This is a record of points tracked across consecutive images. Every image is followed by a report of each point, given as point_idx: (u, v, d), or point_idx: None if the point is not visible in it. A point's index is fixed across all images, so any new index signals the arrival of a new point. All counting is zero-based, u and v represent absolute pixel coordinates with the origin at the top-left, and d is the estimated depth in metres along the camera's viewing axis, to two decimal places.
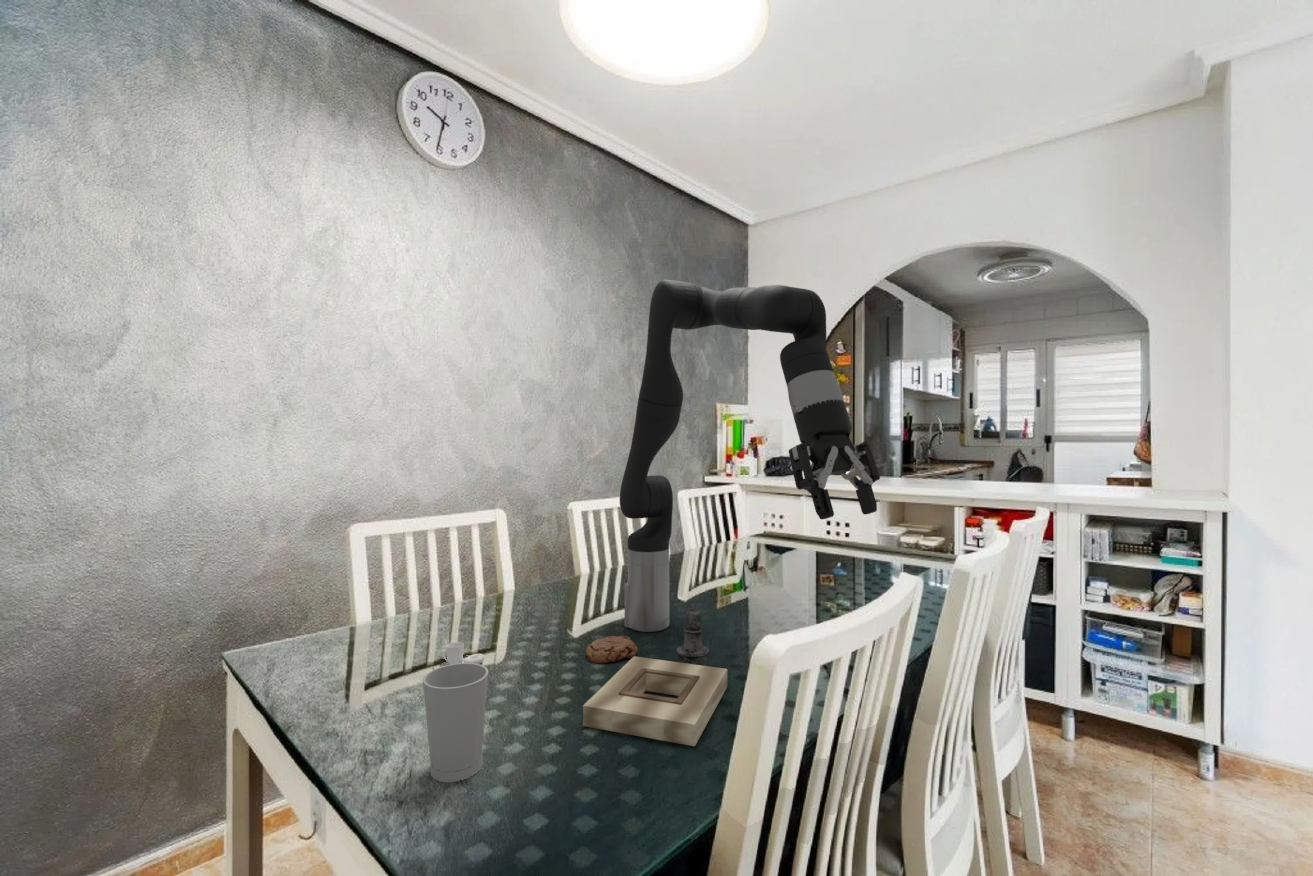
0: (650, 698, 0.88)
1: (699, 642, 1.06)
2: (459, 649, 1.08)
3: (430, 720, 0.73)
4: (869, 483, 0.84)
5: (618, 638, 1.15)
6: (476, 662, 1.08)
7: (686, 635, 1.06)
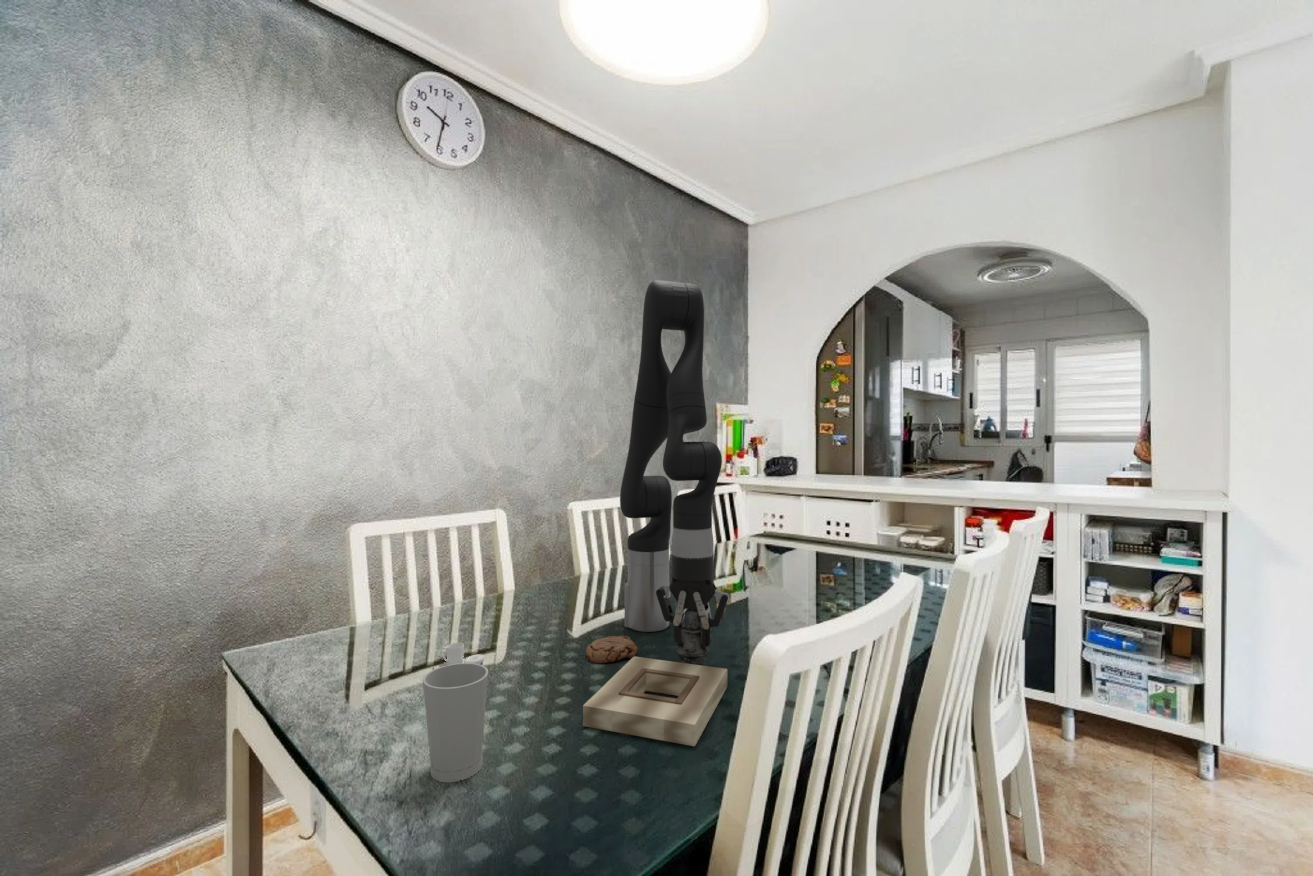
0: (650, 698, 0.88)
1: (699, 642, 1.06)
2: (459, 650, 1.08)
3: (430, 720, 0.73)
4: (704, 627, 1.05)
5: (618, 638, 1.15)
6: (476, 663, 1.08)
7: (686, 635, 1.06)
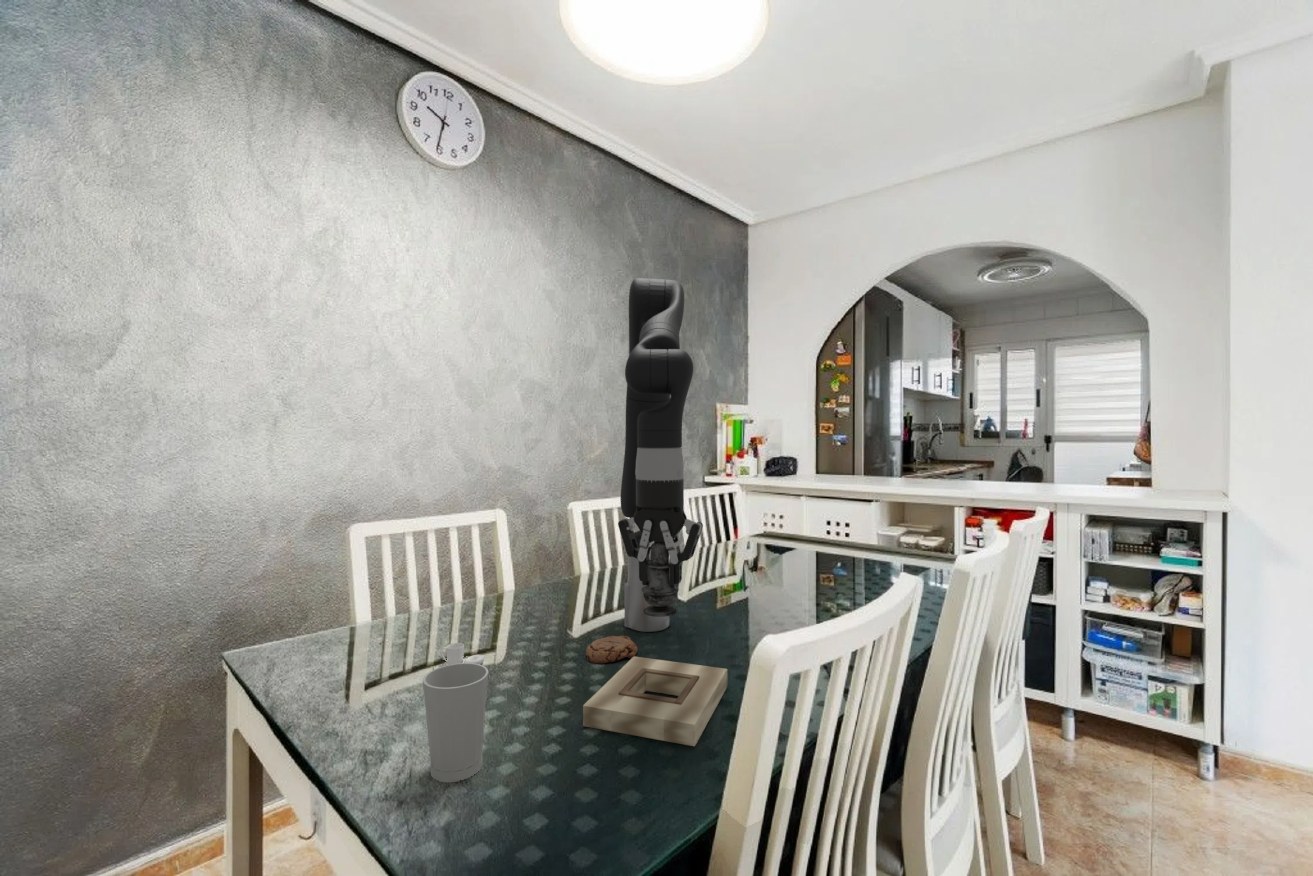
0: (650, 698, 0.88)
1: (666, 579, 0.92)
2: (459, 650, 1.08)
3: (430, 720, 0.73)
4: (673, 562, 0.91)
5: (618, 638, 1.15)
6: (476, 663, 1.08)
7: (652, 571, 0.92)
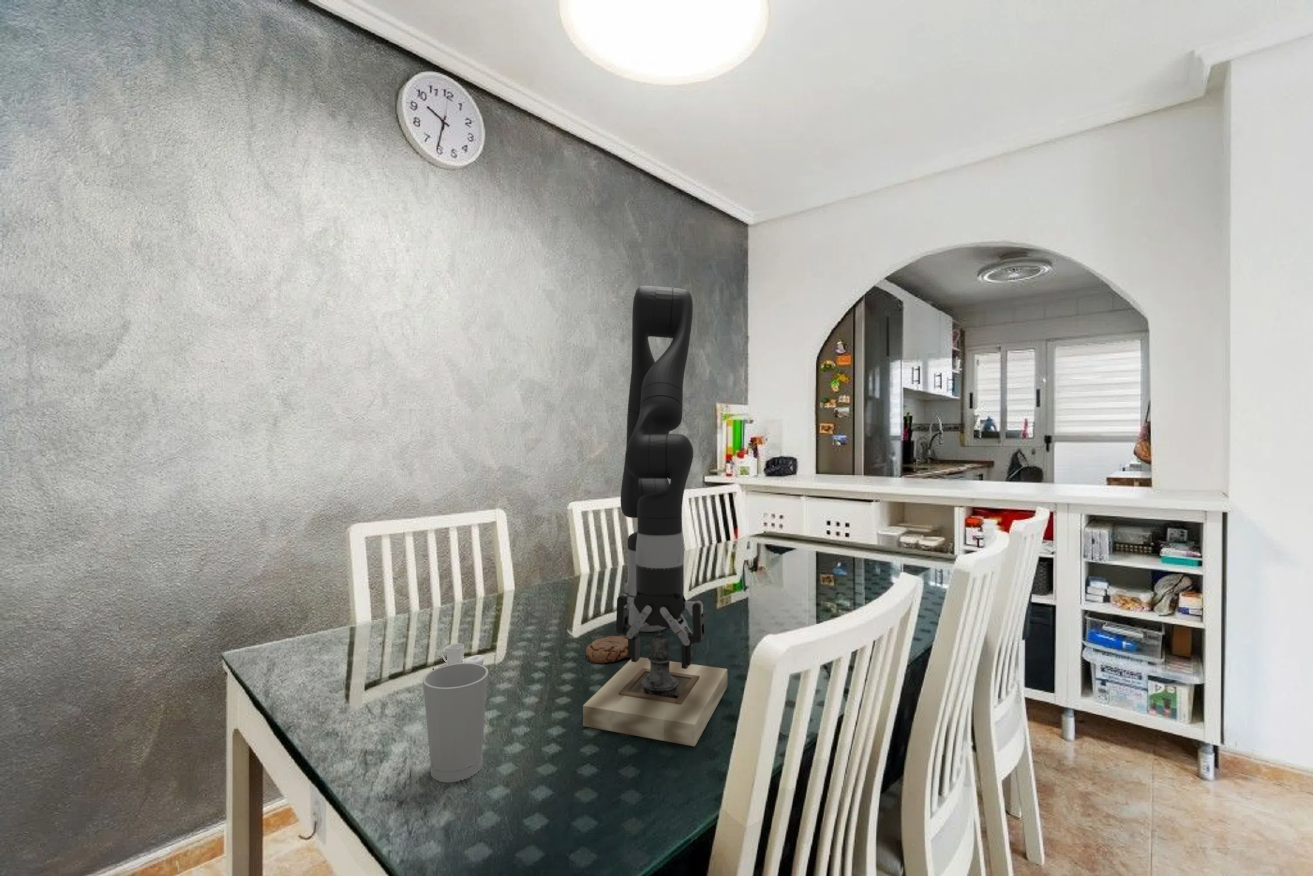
0: (650, 698, 0.88)
1: (666, 673, 0.92)
2: (459, 650, 1.08)
3: (430, 720, 0.73)
4: (684, 644, 0.90)
5: (618, 638, 1.15)
6: (476, 663, 1.08)
7: (652, 665, 0.92)
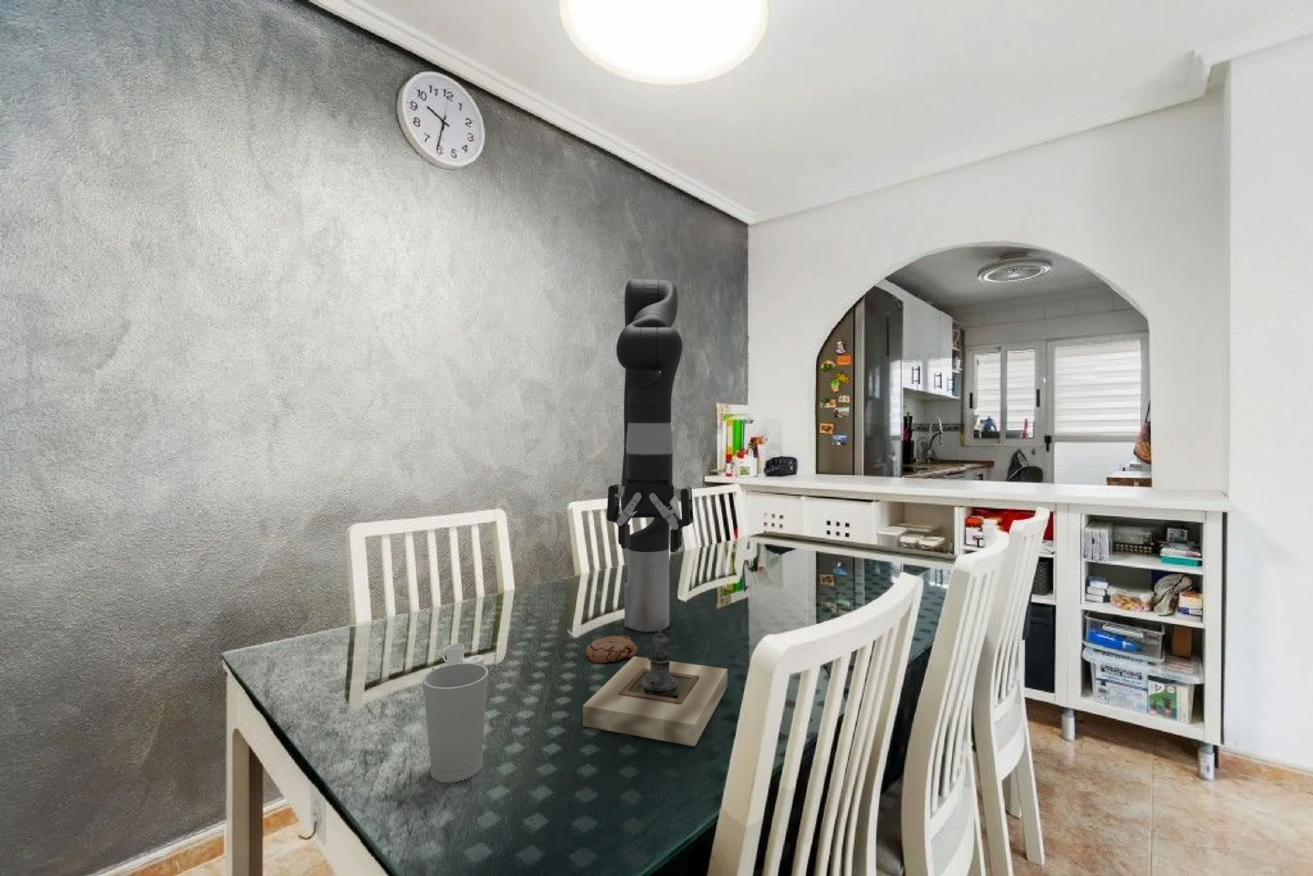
0: (650, 698, 0.88)
1: (666, 673, 0.92)
2: (459, 651, 1.08)
3: (430, 720, 0.73)
4: (673, 528, 0.94)
5: (618, 638, 1.15)
6: None
7: (652, 665, 0.92)
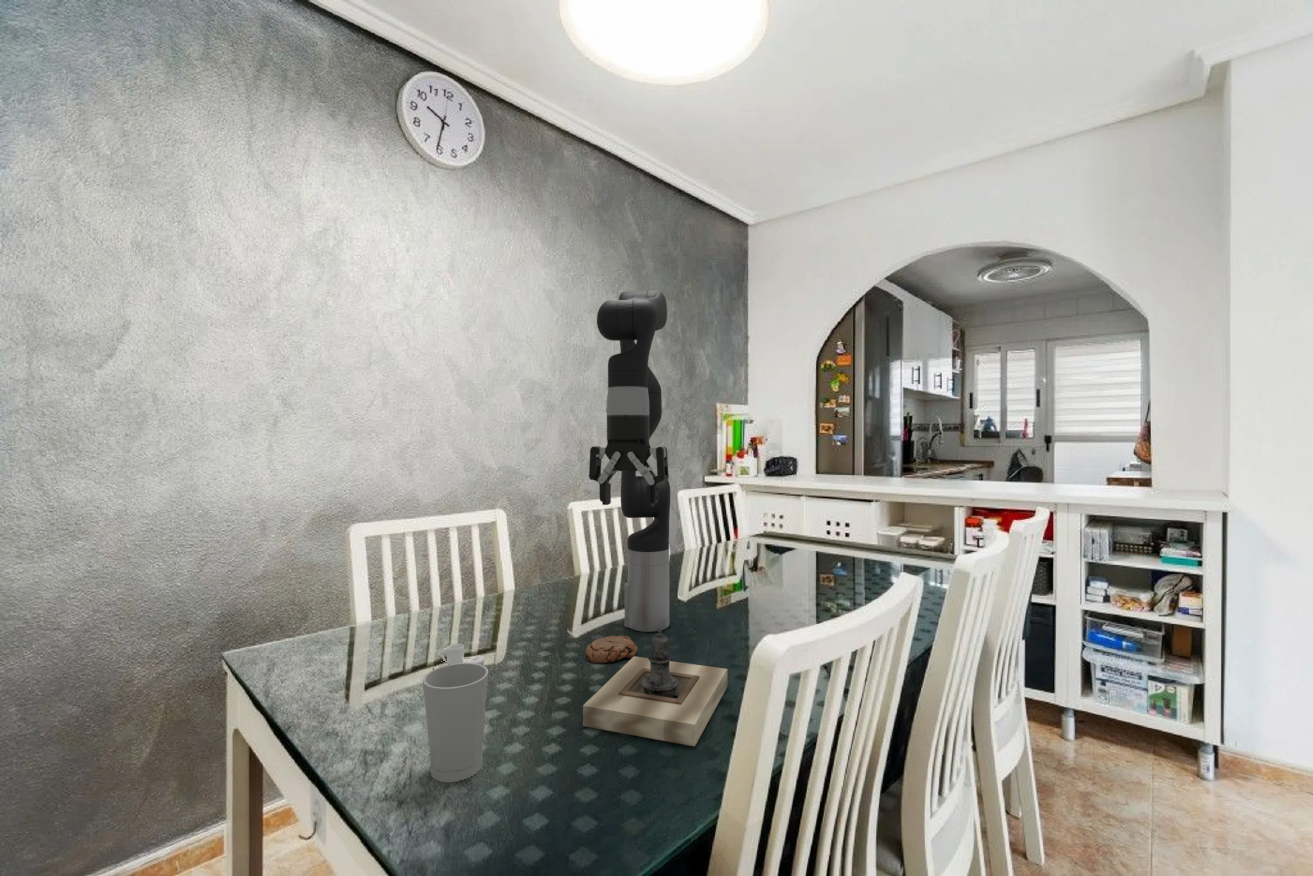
0: (650, 698, 0.88)
1: (666, 673, 0.92)
2: (459, 651, 1.08)
3: (430, 720, 0.73)
4: (650, 483, 1.01)
5: (618, 638, 1.15)
6: None
7: (652, 665, 0.92)
